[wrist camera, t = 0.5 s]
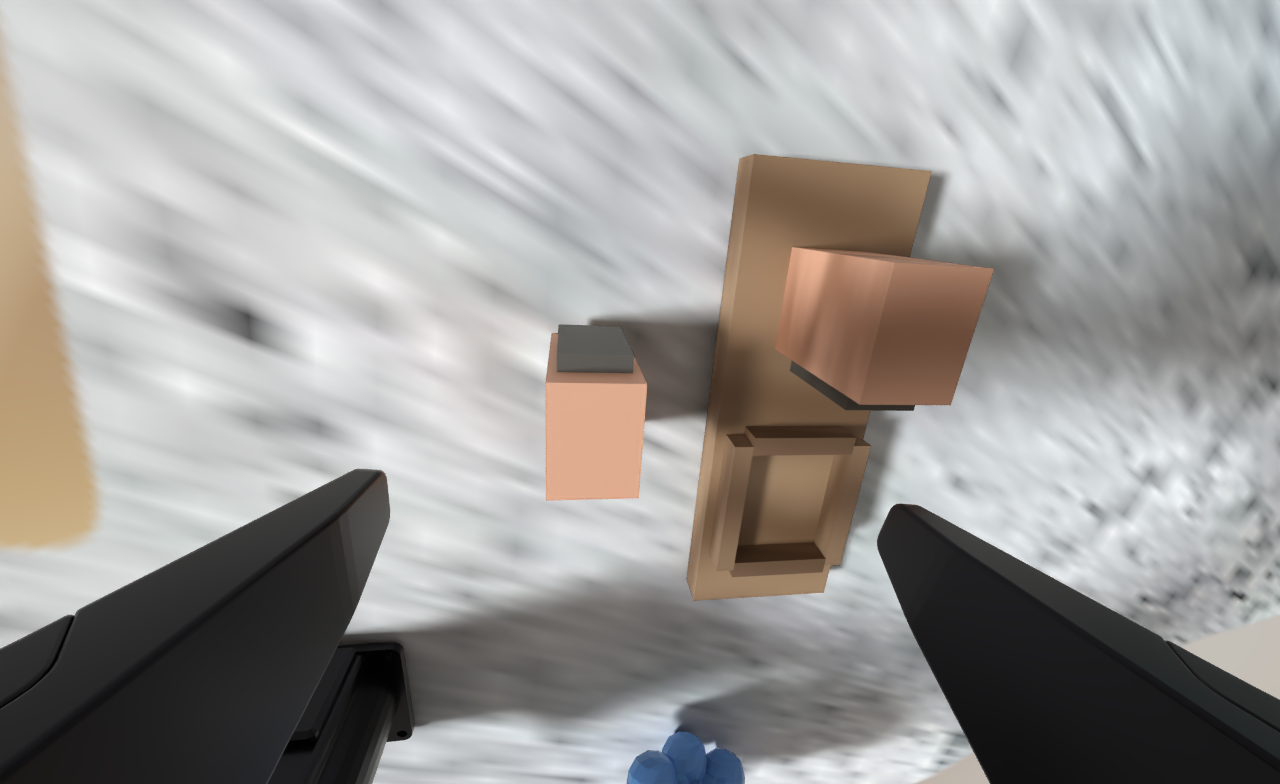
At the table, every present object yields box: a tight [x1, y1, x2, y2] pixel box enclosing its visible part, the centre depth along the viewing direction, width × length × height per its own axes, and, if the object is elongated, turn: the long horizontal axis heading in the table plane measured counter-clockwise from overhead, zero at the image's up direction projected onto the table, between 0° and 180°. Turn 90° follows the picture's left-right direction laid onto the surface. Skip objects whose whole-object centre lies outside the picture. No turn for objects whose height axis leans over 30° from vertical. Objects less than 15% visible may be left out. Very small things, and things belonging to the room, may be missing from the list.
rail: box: [687, 154, 994, 601], centre depth 18 cm, size 20×7×8 cm, turn 176°
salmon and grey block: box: [546, 325, 647, 500], centre depth 17 cm, size 5×3×6 cm, turn 176°
